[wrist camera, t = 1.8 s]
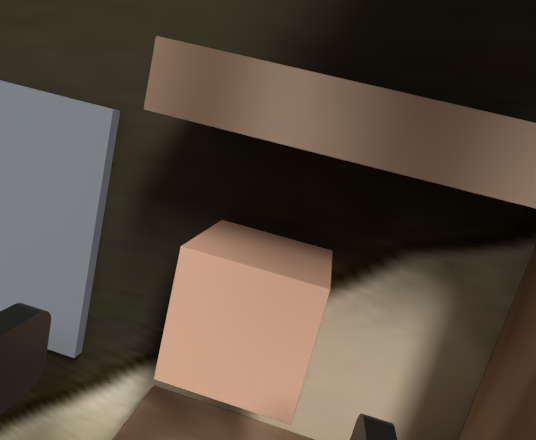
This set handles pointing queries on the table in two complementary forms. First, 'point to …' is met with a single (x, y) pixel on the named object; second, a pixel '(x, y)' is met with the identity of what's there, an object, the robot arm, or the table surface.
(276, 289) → the block
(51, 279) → the mat
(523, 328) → the u-shaped frame
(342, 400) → the table surface
